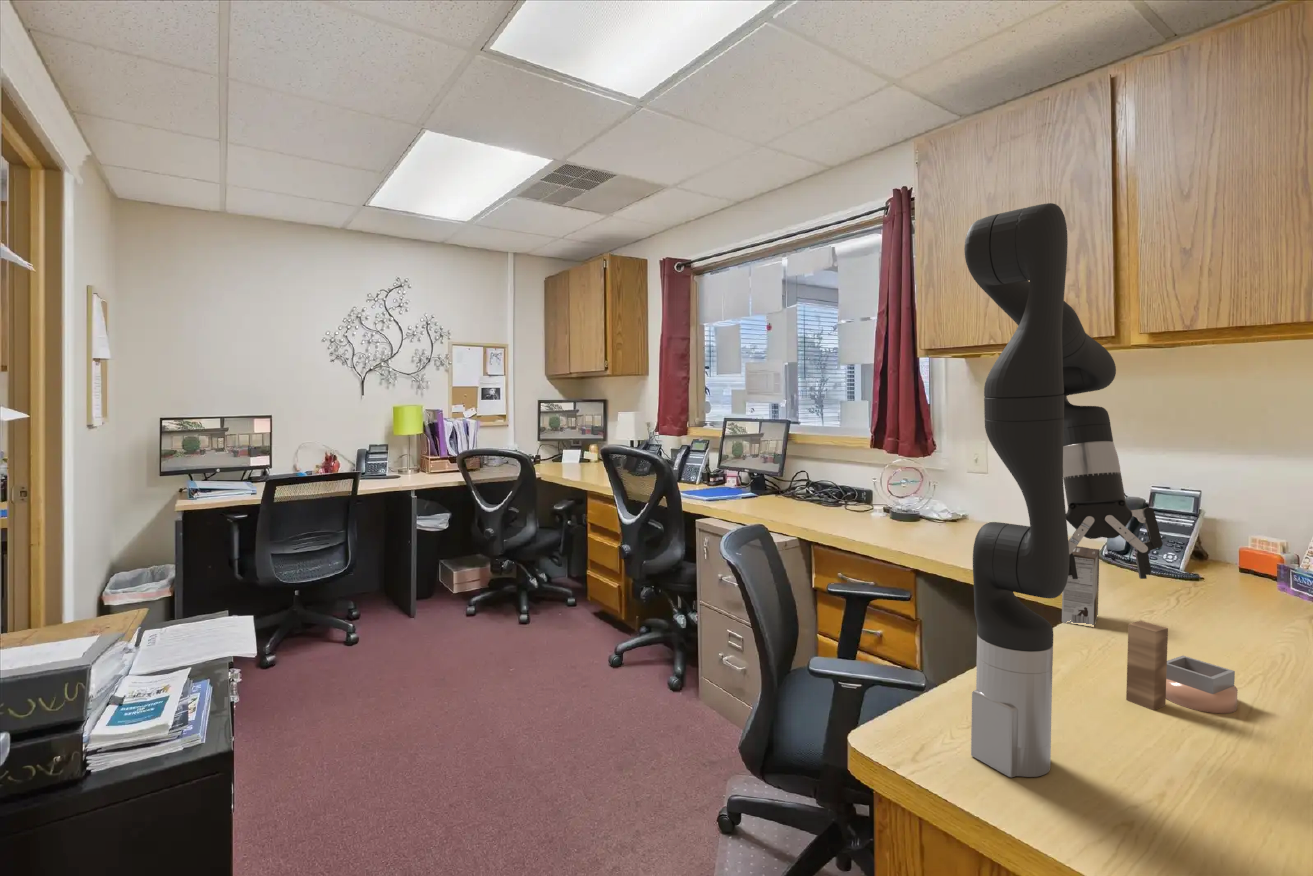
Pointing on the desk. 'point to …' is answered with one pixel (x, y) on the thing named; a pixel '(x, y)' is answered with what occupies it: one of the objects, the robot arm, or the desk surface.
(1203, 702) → the dish
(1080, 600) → the coffee box
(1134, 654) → the brown wooden block
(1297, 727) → the desk surface
